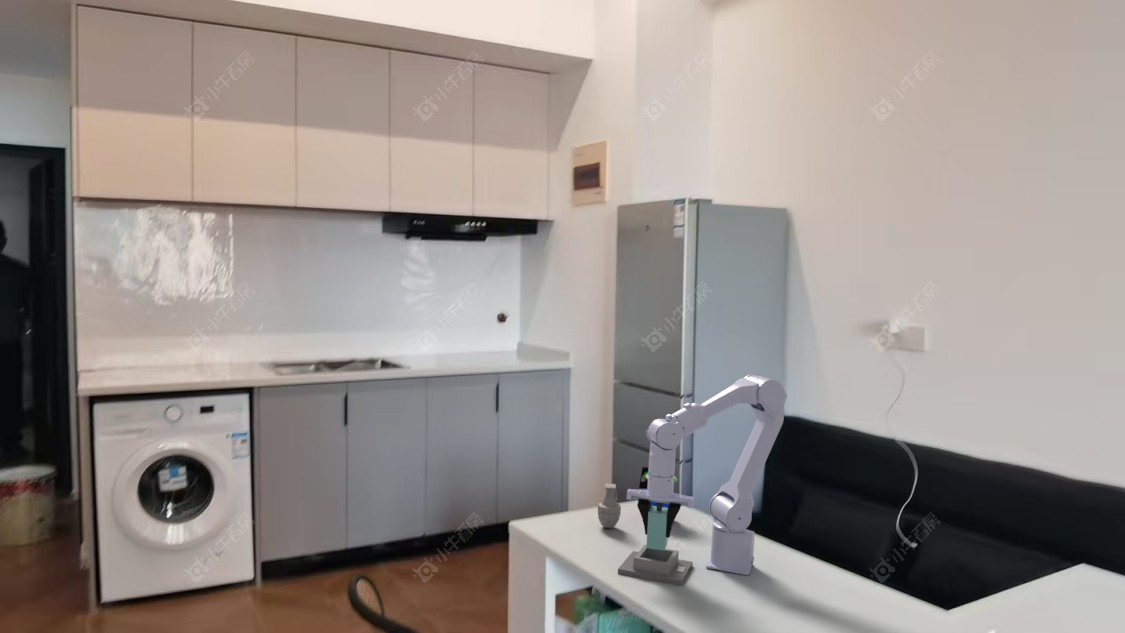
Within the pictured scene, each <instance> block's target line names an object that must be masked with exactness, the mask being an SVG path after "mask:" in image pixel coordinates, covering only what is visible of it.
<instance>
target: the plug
mask: <svg viewBox="0 0 1125 633" xmlns="http://www.w3.org/2000/svg"><path fill="white" fill-rule="evenodd" d="M667 520H668V508H665V507H662V503H657V506H651V508H650V510H649V512H648V528H647V535H646V544H645V545H646V548H650V549H657V550H664V551H665V548H666V547H668V542H669V540H668V539H669V538H667V537H666V530H667ZM666 549H667V548H666Z"/></svg>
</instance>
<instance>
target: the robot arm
mask: <svg viewBox="0 0 1125 633" xmlns="http://www.w3.org/2000/svg"><path fill="white" fill-rule="evenodd" d="M787 398H788V395H787V393H786V390H785V388H784V386H783V384H782V383H781V382H780V381H778V380H777V379H773V378H771V379H770V378H768V377H765V376H760V375H759V374H757V373H750V374H748V375H746V376H745V377H742V378H739V379H737V380H736V381H735V382H734V383H733V384H732V385H730V386H728V387H727V388H726V389H724V390H722V391H720V392H719V393H717V394H716V395H714V396H712V397H711V398H709V399H707V400H705V401H704V402H702V403H700V404H699V403H698V402H697V403H696V402H692V403H690V402H686V403H684V404H683V408H681V409H679V410H677V411H676V412H675V411H674V412H673V413H672V414H670V413H668V414H666V415H665V418H657V419H654V420H653V421H652V422H650V425H649V426H648V429H646V430H645V432H646V434H645V435H646V437H647V439H648V441H649V442H650V444H649V453H648V454H649V455H648V467H649V470H648V488H647V489H638V488H637V489H633V488H628V489H627V491H626V500H629V501H632V500H635V501H637V504H636V505H637V509H638V511H639V513H640V516H641V518H642V523H643V526H644V535H646V536H647V528H648V512H649V510H650V508H651V502H657V503H665V504H670V505H669V506H668V520H667V530H666V537H667V538H668V539H670V537H671V532H672V527H673V525H674V522H675V519H676V517H677V515H678V514H679V511H680V510H681V507H687V508H689V509H690V508H691V509H692V508H693V507H694V496H689V495H685V494H681V493H676V492H674V488H675V487H674V485H675V483H674V476H675V470H676V457H677V456H676V454H677V453H676V452H677V448H678V446H679V445H680V444H681V442H682V440H683V439H684V438H686V437H687V436H689V435H691V434H693V433H695V432H697V431H699V430H700V429H702V428H704V427H706V426H707V425H708V421H709V418H712V417H713V416H715V415H718V414H720V413H721V412H724V411H726V410H727V409H730V408H732V407H734V406H737V405H738V404H747V405H749V406H750V407H751V408H752V410H753V412H754V415H755V417H756V420H755V424H754V425H753V427H752V430H751V432H750V434H749V437H748V439H747V441H746V443H745V445H744V447H743V450H742V453H741V455H740V457H739V459H738V460H737V461H738V462H737V463H736V466H735V468H734V470H733V472H732V474H731V476H730V479H729V481H727V482H726V483H724V484H722V485H721V486H720V487H719V490H718V491H717V492H716V494H715V495H713V496H712V498H711V499H710V501H709V504H708V511H709V513H710V516H712V529H711V530H712V531H711V532H712V533H711V545H710V546H711V548H710V558H709V559H708V561H707V563H706V565H705V567H706V568H707V569H711V570H712V569H713V570H718V571H723V572H727V573H732V574H733V573H734V574H737V575H743V576H750V573H751V570H752V567H753V566H754V561H755V558H754V550H755V531H753V530H749V529H747V528H748V527H749V526H750V525H751V522H752V514H753V512H752V511H753V509H754V506H755V501H754V496H753V490H754V489H755V487H756V484H757V481H758V479H759V478H760V475H761V474H762V470H763V469H764V467H765V463H766V462H767V459H768V458H769V455H770V453H771V451H772V448H773V446H774V444H775V441H776V439H777V437H778V435H779V433H780V430H781V428H782V427H783V424H784V420H785V418H784V416H785V403H786V400H787Z"/></svg>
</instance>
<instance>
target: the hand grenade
mask: <svg viewBox="0 0 1125 633" xmlns="http://www.w3.org/2000/svg"><path fill="white" fill-rule="evenodd" d="M604 488H605V495H604V497H603V499H602V501H601V502H598V504H597V516H598V521H599V522H600V525H601V526H602V527H604V528H606V529H612V528H614V527H615V526H617V524H618V522H619V520H620V518H621V512H622V509H621V508H622V506H621V504H620V503H618V500H619V499H618V493H617V485H616V483H605V484H604Z"/></svg>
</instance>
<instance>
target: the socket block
mask: <svg viewBox="0 0 1125 633" xmlns="http://www.w3.org/2000/svg"><path fill="white" fill-rule="evenodd" d="M646 545H647V544H644V545H642V547H641V548H640V549H639V551H636V550H633V551H631V553H630V554H629V555H628V556H627V558H626V559H625V560H624V561H623V562H622V564H620V566H619V567H617V568H618V569H617V574H620V575H626V576H630V577H634V578H635V577H636V578H639V579H640V578H641V579H645V580H650V579H651V581H655V582H656V581H657V582H661V583H664V584H665V583H667V584H672V585H676V586H682V585H683V583H684V581H685V580H686V578H687V576H688V575H689V573H690V571H691V569H692V567H693V563H694V562H693V561H691V560H690V561H689V560H685V559H680V558H679V554H680V551H679V550H675V549H670V548H665V551H664V550H657V549H650V548H646Z"/></svg>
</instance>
